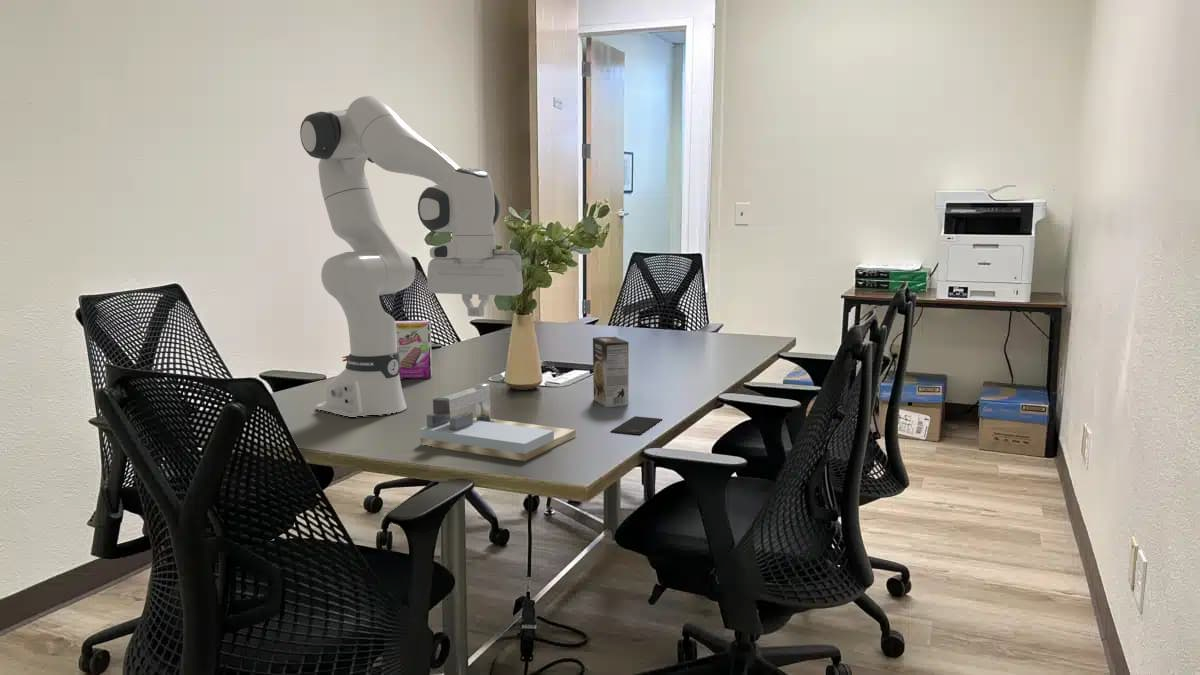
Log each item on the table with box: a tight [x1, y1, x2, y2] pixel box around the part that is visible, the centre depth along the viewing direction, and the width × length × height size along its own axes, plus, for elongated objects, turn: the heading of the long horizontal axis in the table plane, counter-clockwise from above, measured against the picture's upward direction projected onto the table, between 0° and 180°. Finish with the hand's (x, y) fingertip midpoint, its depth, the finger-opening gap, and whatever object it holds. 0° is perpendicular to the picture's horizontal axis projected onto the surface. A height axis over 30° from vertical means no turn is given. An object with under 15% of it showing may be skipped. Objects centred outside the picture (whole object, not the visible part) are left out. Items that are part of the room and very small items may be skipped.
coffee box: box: [592, 336, 630, 408], centre depth 221 cm, size 9×6×16 cm
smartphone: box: [610, 416, 663, 437], centre depth 200 cm, size 7×1×15 cm
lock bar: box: [432, 382, 492, 422], centre depth 191 cm, size 18×3×8 cm, turn 151°
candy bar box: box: [395, 320, 433, 380], centre depth 255 cm, size 11×5×16 cm, turn 97°
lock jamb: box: [419, 411, 577, 462], centre depth 188 cm, size 26×20×6 cm
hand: (475, 316), depth 183 cm, fingers closed
